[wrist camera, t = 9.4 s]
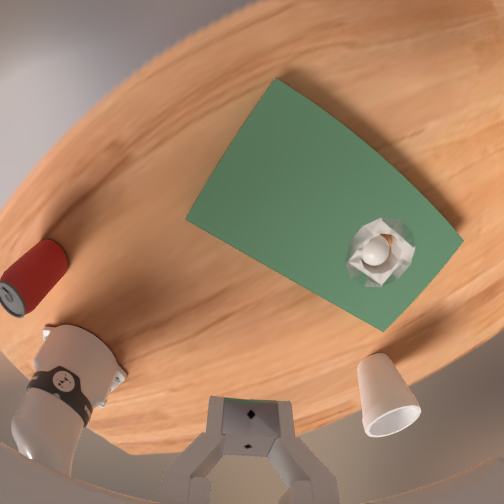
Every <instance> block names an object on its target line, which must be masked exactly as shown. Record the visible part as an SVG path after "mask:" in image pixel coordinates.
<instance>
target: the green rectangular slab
mask: <svg viewBox="0 0 504 504" xmlns="http://www.w3.org/2000/svg"><path fill="white" fill-rule="evenodd" d="M185 220H187V221H189V222H190V223H192V224H194V225H196V226H197V227H199V228H201V229H203V230H204V231H206V232H208V233H210V234H211V235H213V236H215V237H217V238H218V239H220V240H222V241H224V242H225V243H227V244H229V245H231V246H232V247H234V248H236V249H238V250H239V251H241V252H243V253H245V254H246V255H248V256H250V257H252V258H253V259H255V260H257V261H259V262H260V263H262V264H264V265H266V266H267V267H269V268H271V269H273V270H274V271H276V272H278V273H280V274H282V275H283V276H285V277H287V278H289V279H290V280H292V281H294V282H296V283H297V284H299V285H301V286H303V287H304V288H306V289H308V290H310V291H311V292H313V293H315V294H317V295H319V296H320V297H322V298H324V299H326V300H327V301H329V302H331V303H333V304H334V305H336V306H338V307H340V308H342V309H343V310H345V311H347V312H349V313H350V314H352V315H354V316H356V317H357V318H359V319H361V320H363V321H365V322H366V323H368V324H370V325H372V326H373V327H375V328H377V329H379V330H381V331H382V332H384V331H385V330H386V329H387V328H388V327H389V326H390V325H391V324H392V323H393V322H394V321H395V320H396V319H397V318H398V317H399V316H400V315H401V314H402V313H403V312H404V311H405V310H406V309H407V308H408V306H409V305H410V304H411V303H412V302H413V301H414V300H415V299H416V298H417V297H418V296H419V295H420V293H421V292H422V291H423V290H424V289H425V288H426V287H427V286H428V284H429V283H430V282H431V281H432V280H433V279H434V277H435V276H436V275H437V274H438V273H439V271H440V270H441V269H442V268H443V267H444V265H445V264H446V263H447V262H448V261H449V259H450V258H451V257H452V255H453V254H454V253H455V252H456V250H457V249H458V248H459V246H460V245H461V244H462V243H463V241H464V240H463V239H462V238H461V236H460V235H459V234H458V233H457V232H456V231H455V229H454V228H453V227H452V226H451V225H450V224H449V223H448V221H447V220H446V219H445V218H444V217H443V216H442V215H441V214H440V213H439V212H438V210H437V209H436V208H435V207H434V206H433V205H432V204H431V203H430V202H429V201H428V200H427V199H426V198H425V197H424V196H423V195H422V194H421V193H420V192H419V191H418V190H417V189H416V188H415V187H414V186H413V185H412V184H411V183H410V182H409V181H408V180H407V179H406V178H405V177H404V176H403V175H402V174H401V173H400V172H398V171H397V170H396V169H395V168H394V167H393V166H392V165H391V164H390V163H389V162H388V161H386V160H385V159H384V158H383V157H382V156H381V155H380V154H378V153H377V152H376V151H375V150H374V149H373V148H371V147H370V146H369V145H368V144H367V143H365V142H364V141H363V140H362V139H361V138H359V137H358V136H357V135H356V134H354V133H353V132H352V131H351V130H349V129H348V128H347V127H346V126H344V125H343V124H342V123H340V122H339V121H338V120H336V119H335V118H334V117H332V116H331V115H330V114H328V113H327V112H326V111H324V110H323V109H322V108H320V107H319V106H317V105H316V104H315V103H313V102H312V101H310V100H309V99H307V98H306V97H304V96H303V95H301V94H300V93H299V92H297V91H295V90H294V89H292V88H291V87H289V86H288V85H286V84H285V83H283V82H282V81H280V80H278V79H277V78H275V80H274V81H273V82H272V84H271V85H270V87H269V88H268V89H267V91H266V92H265V94H264V95H263V97H262V98H261V99H260V101H259V102H258V104H257V105H256V107H255V108H254V110H253V111H252V113H251V114H250V116H249V117H248V118H247V120H246V121H245V123H244V124H243V126H242V127H241V129H240V131H239V132H238V134H237V135H236V137H235V138H234V140H233V141H232V143H231V144H230V146H229V147H228V149H227V151H226V152H225V154H224V155H223V157H222V159H221V160H220V162H219V163H218V165H217V167H216V168H215V170H214V171H213V173H212V175H211V176H210V178H209V180H208V181H207V183H206V185H205V186H204V188H203V190H202V191H201V193H200V195H199V196H198V198H197V200H196V201H195V203H194V205H193V207H192V208H191V210H190V212H189V214H188V215H187V217H186V219H185ZM380 234H391V236H392V239H393V241H392V245H391V249H390V251H389V256H388V258H387V259H386V260H385V261H384V262H383V263H382V264H380V265H376V266H372V265H369V264H367V263H365V262H364V261H362V260H361V257H362V252H363V248H364V247H365V246H366V244H367V243H368V242H369V241H370V239H371V238H374V237H376V236H378V235H380Z"/></svg>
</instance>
